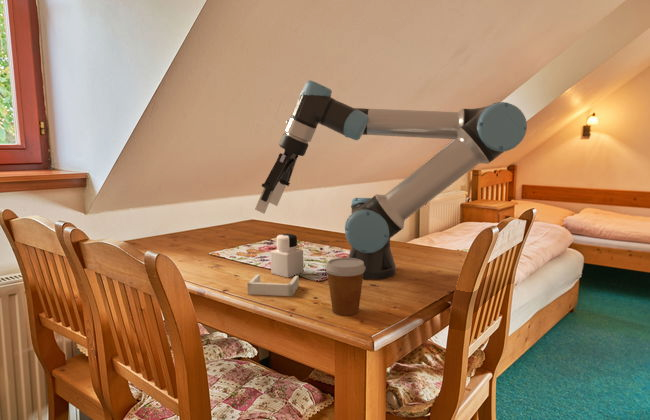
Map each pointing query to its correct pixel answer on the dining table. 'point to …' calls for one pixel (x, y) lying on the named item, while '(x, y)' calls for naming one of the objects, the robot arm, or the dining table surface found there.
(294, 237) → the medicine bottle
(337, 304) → the disposable coffee cup
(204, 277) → the dining table surface
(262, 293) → the pocket
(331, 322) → the dining table surface
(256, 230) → the dining table surface
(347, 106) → the robot arm
